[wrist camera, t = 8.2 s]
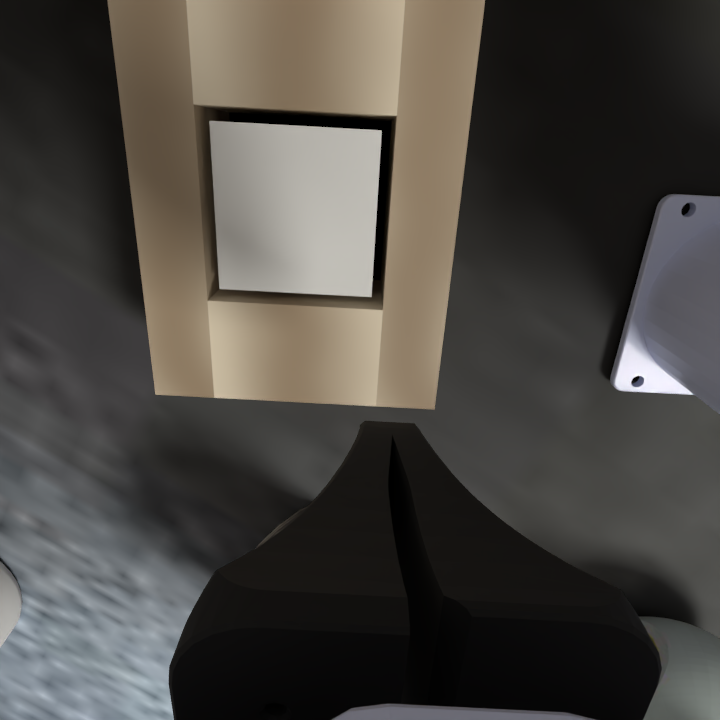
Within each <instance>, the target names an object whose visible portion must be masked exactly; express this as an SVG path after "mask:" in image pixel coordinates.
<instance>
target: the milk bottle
mask: <svg viewBox="0 0 720 720" xmlns="http://www.w3.org/2000/svg"><path fill="white" fill-rule="evenodd" d="M21 607H22V595H21V590H20V588H19V585H18V582H17V581H16V579H15V578H14V576H13V575H12V573H11V572H10V571H9V570H8V569H7V568H6V567H5V565H4V564H3V563H2V562H0V647H1V646H2V644H3V643H4V641H5V640H6V639H7V637H8V636H9V634H10V633H11V631H12V630H13V628H14V627H15V625H16V624H17V622H18V620H19V617H20V612H21Z"/></svg>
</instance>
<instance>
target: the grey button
mask: <svg viewBox="0 0 720 720" xmlns="http://www.w3.org/2000/svg"><path fill="white" fill-rule="evenodd" d="M209 124H210V141H211V157H212V174H213V190H214V207H215V223H216V240H217V256H218V273H219V289H229V290H248V291H266V292H285V293H303V294H322V295H340V296H359V297H372V282H373V265H374V249H375V233H376V217H377V201H378V185H379V169H380V153H381V137H382V130H367V129H349V128H331V127H313V126H295V125H277V124H259V123H241V122H223V121H209Z"/></svg>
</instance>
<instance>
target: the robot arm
mask: <svg viewBox="0 0 720 720" xmlns="http://www.w3.org/2000/svg"><path fill="white" fill-rule="evenodd" d="M686 203H689V205H690V209H689V211H688V213H687V214H685V215H682V214H681V209H682V208H683V206H684V205H685V204H686ZM636 376H639V379H638V381H637V382H635V383H631V381H632V379H633V378H634V377H636ZM610 382H611V384H612V385H613V386H614V387H615V388H616V389H617V390H620V391H630V392H649V393H668V394H687V395H695V396H697V397H698V398H699V399H701V400H702V401H703V402H704V403H706V404H707V405H708V406H710V407H711V408H712V409H714V410H715V411H716V412H717V413H719V414H720V196H702V195H683V194H670V195H667V196H665V197H663V198H662V199H661V201H660V202H659V203H658V205H657V208H656V212H655V215H654V219H653V223H652V226H651V230H650V234H649V237H648V241H647V245H646V248H645V252H644V256H643V259H642V263H641V267H640V270H639V274H638V278H637V281H636V285H635V289H634V292H633V296H632V300H631V303H630V307H629V311H628V314H627V318H626V322H625V325H624V329H623V333H622V336H621V340H620V344H619V347H618V351H617V355H616V358H615V362H614V366H613V369H612V373H611V377H610ZM661 671H662V666H661V660H660V655H659V652H658V650H657V648H656V646H655V645H654V643H653V641H652V639H651V638H650V636H649V634H648V632H647V630H646V628H645V627H644V625H643V623H642V622H641V620H640V618H639V616H638V615H637V613H636V612H635V610H634V609H633V607H632V606H631V604H630V603H629V601H628V600H627V598H626V597H625V595H624V594H623V592H622V591H621V590H620V589H618V588H616V587H614V586H612V585H610V584H608V583H606V582H604V581H602V580H600V579H598V578H596V577H593V576H591V575H589V574H587V573H585V572H583V571H581V570H579V569H577V568H575V567H573V566H572V565H570V564H568V563H566V562H564V561H563V560H561V559H559V558H558V557H556V556H554V555H552V554H551V553H549V552H547V551H546V550H544V549H542V548H541V547H539V546H538V545H536V544H535V543H533V542H532V541H530V540H528V539H527V538H526V537H524V536H523V535H521V534H520V533H519V532H517V531H516V530H514V529H513V528H512V527H510V526H509V525H507V524H506V523H505V522H504V521H502V520H501V519H500V518H498V517H497V516H496V515H495V514H494V513H492V512H491V511H490V510H489V509H488V508H487V507H485V506H484V505H483V504H482V503H481V502H480V501H479V500H477V499H476V498H475V497H474V496H473V495H472V494H471V493H470V492H469V491H468V490H467V489H466V488H465V487H464V486H463V485H462V484H461V483H460V482H459V480H458V479H457V478H456V477H455V476H454V475H453V474H452V473H451V471H450V470H449V469H448V468H447V466H446V465H445V464H444V463H443V462H442V460H441V459H440V458H439V457H438V455H437V454H436V453H435V451H434V450H433V449H432V447H431V446H430V444H429V443H428V442H427V440H426V439H425V437H424V436H423V434H422V433H421V431H420V430H419V428H418V427H417V426H416V425H415V424H414V423H395V422H376V421H364V422H363V423H362V424H361V425H360V429H359V432H358V435H357V438H356V440H355V442H354V444H353V446H352V448H351V450H350V451H349V453H348V455H347V456H346V458H345V460H344V462H343V463H342V465H341V466H340V468H339V469H338V470H337V472H336V473H335V475H334V476H333V477H332V479H331V480H330V481H329V483H328V484H327V485H326V487H325V488H324V489H323V490H322V491H321V493H320V494H319V495H318V496H317V497H316V498H315V499H314V500H313V501H312V502H311V504H310V505H309V506H308V507H307V508H306V509H304V510H303V511H302V512H301V513H300V514H299V515H298V516H297V517H296V518H295V519H294V520H293V521H292V522H290V523H289V524H288V525H287V526H286V527H285V528H283V529H282V530H281V531H279V532H278V533H277V534H275V535H274V536H273V537H271V538H270V539H269V540H267V541H266V542H265V543H263V544H262V545H260V546H259V547H257V548H256V549H254V550H253V551H251V552H249V553H247V554H246V555H244V556H242V557H240V558H238V559H237V560H235V561H233V562H231V563H230V564H228V565H226V566H224V567H222V568H220V569H218V570H217V571H215V573H214V574H213V576H212V577H211V579H210V581H209V582H208V584H207V585H206V587H205V589H204V590H203V592H202V594H201V595H200V597H199V599H198V601H197V603H196V605H195V606H194V608H193V610H192V612H191V614H190V616H189V618H188V620H187V622H186V624H185V627H184V629H183V632H182V634H181V637H180V640H179V642H178V645H177V648H176V650H175V653H174V656H173V658H172V661H171V664H170V667H169V688H170V695H171V702H172V708H173V715H174V720H643V719H644V717H645V715H646V712H647V710H648V708H649V705H650V703H651V701H652V698H653V696H654V693H655V691H656V689H657V686H658V684H659V679H660V675H661Z"/></svg>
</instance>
